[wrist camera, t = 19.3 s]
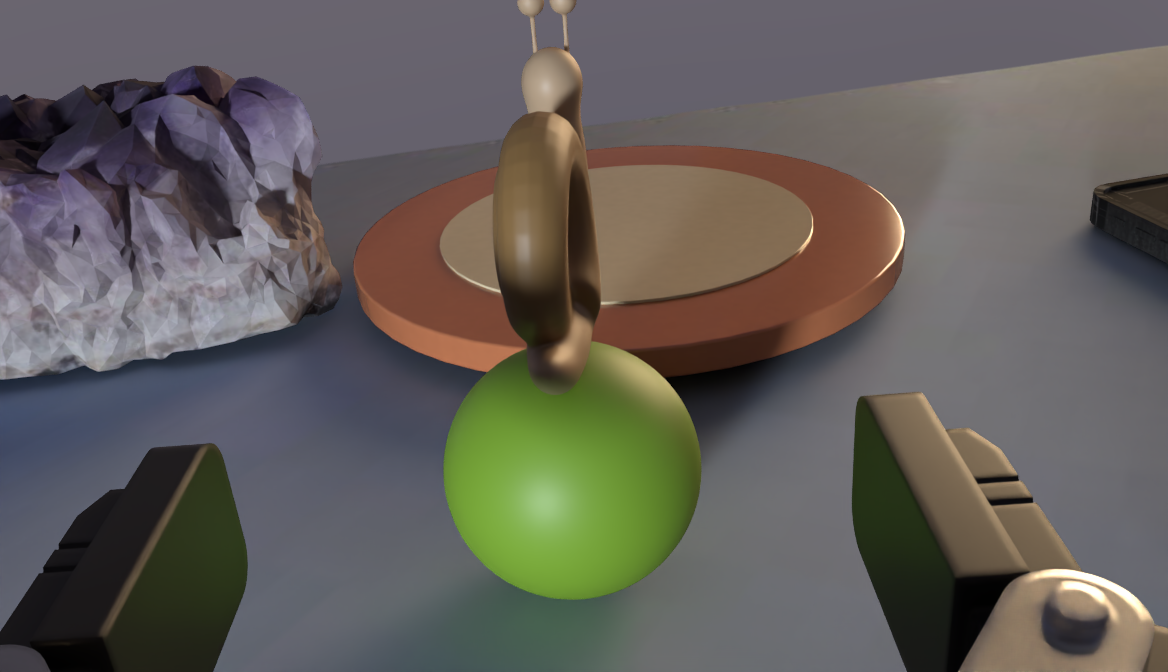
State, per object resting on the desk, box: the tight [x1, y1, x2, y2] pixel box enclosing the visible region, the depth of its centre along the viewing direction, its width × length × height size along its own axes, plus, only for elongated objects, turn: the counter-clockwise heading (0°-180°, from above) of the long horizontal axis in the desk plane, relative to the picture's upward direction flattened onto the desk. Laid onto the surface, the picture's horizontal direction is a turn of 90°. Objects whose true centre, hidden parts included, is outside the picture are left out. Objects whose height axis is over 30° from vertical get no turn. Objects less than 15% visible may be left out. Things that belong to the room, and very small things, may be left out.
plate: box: [353, 145, 905, 378], centre depth 39 cm, size 19×19×2 cm
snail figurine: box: [443, 0, 701, 600], centre depth 22 cm, size 5×6×12 cm
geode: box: [0, 66, 342, 380], centre depth 36 cm, size 20×12×10 cm, turn 106°
